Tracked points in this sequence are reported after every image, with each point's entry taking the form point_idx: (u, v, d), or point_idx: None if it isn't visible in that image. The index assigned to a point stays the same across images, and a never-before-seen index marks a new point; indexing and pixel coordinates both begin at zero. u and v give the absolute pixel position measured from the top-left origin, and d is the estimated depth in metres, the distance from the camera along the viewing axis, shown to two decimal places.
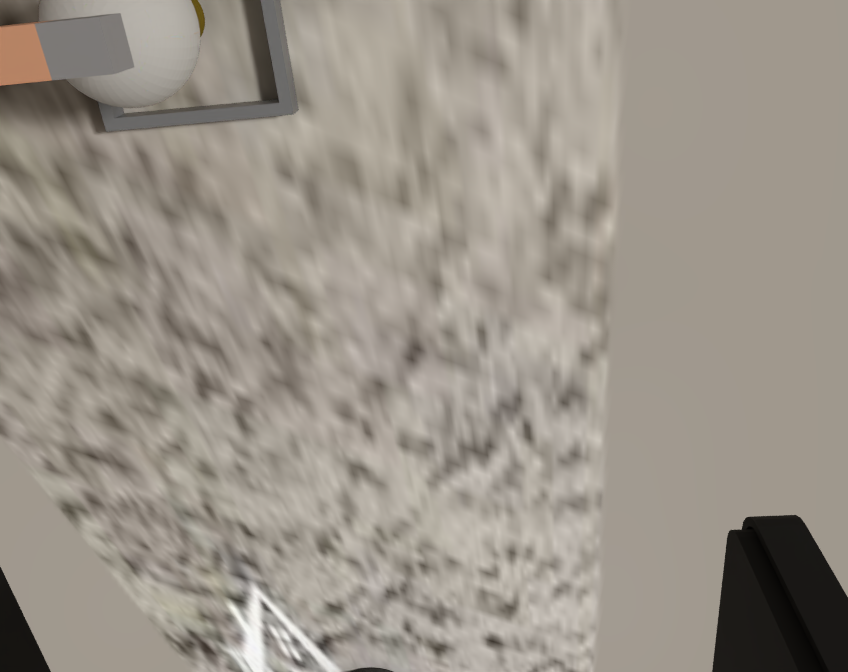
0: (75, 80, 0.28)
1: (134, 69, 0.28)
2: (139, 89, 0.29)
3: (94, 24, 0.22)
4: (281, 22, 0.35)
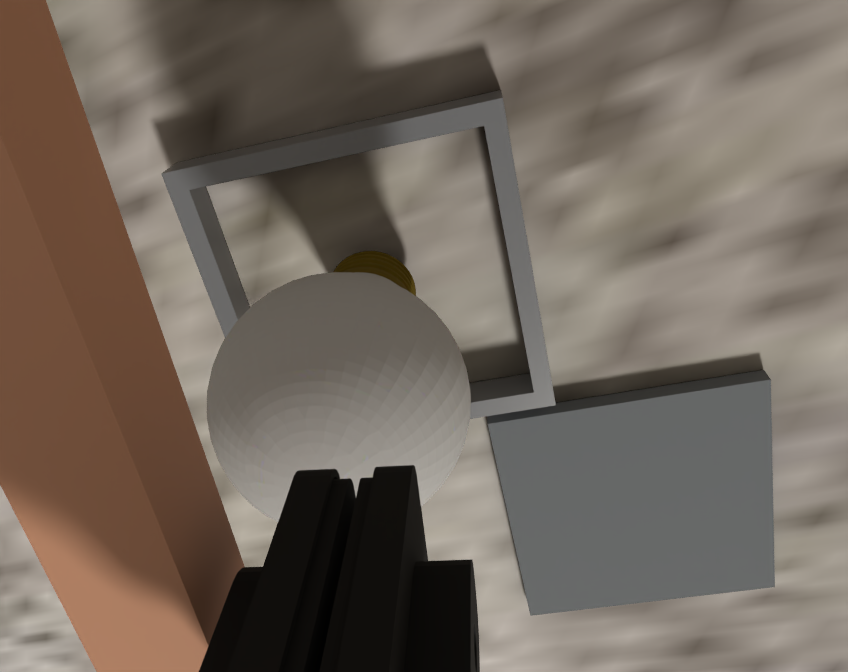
0: (235, 418, 0.15)
1: None
2: (248, 501, 0.16)
3: None
4: None
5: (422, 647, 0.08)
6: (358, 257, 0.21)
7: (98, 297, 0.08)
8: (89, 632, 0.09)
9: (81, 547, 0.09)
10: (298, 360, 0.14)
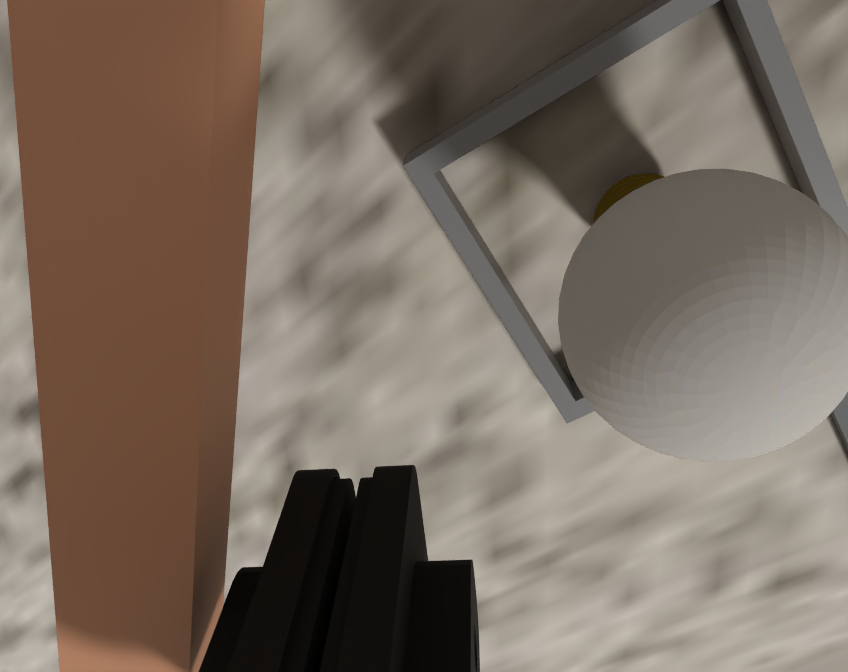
0: (632, 349, 0.13)
1: (700, 451, 0.14)
2: (651, 443, 0.14)
3: None
4: None
5: (422, 647, 0.08)
6: (622, 185, 0.20)
7: (222, 252, 0.07)
8: (67, 582, 0.09)
9: (100, 497, 0.08)
10: (689, 263, 0.13)
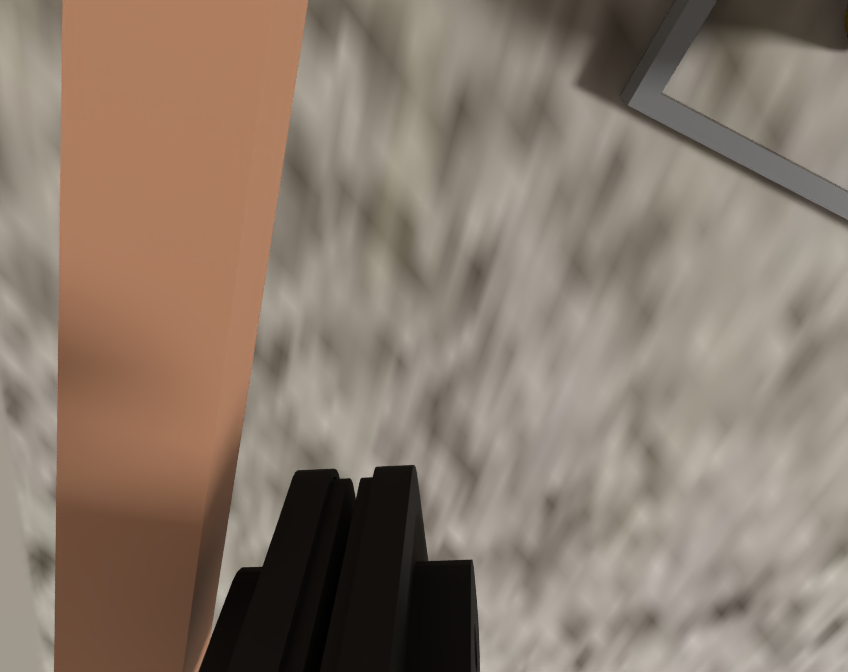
0: None
1: None
2: None
3: None
4: None
5: (422, 647, 0.08)
6: None
7: (251, 246, 0.07)
8: (69, 563, 0.09)
9: (111, 480, 0.08)
10: None
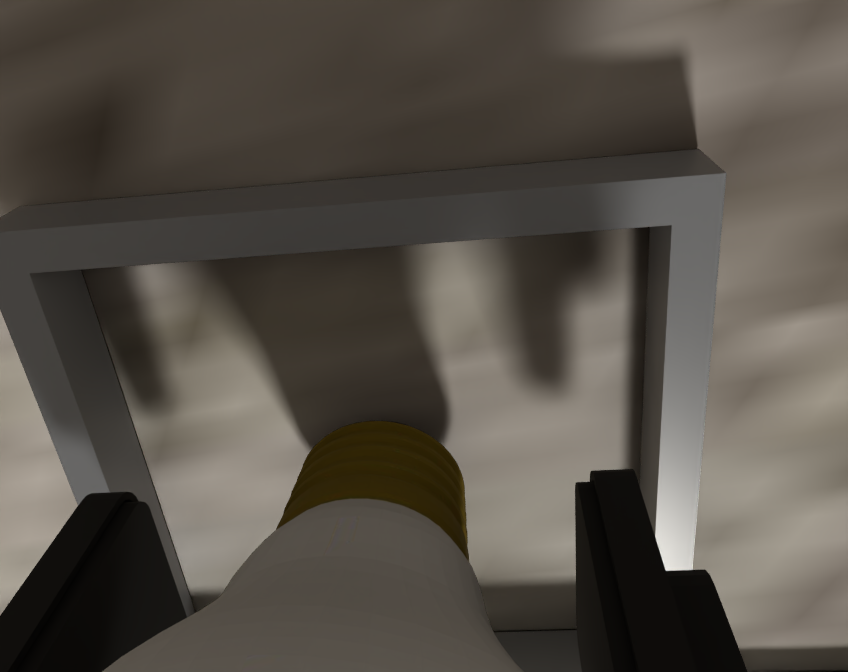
0: None
1: None
2: None
3: None
4: None
5: None
6: (365, 437, 0.11)
7: None
8: None
9: None
10: None
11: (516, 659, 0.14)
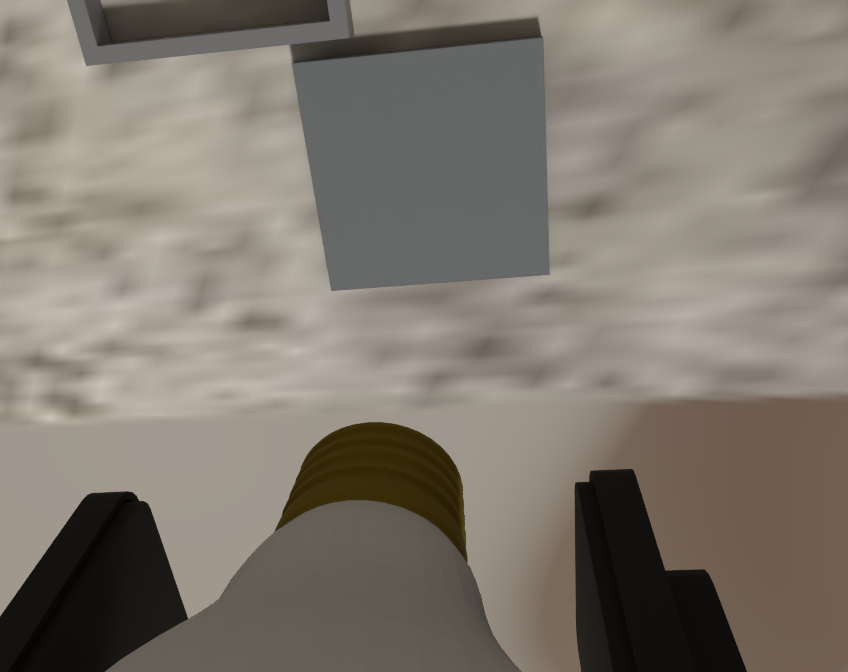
0: None
1: None
2: None
3: None
4: None
5: None
6: (364, 439, 0.11)
7: None
8: None
9: None
10: None
11: (270, 26, 0.26)
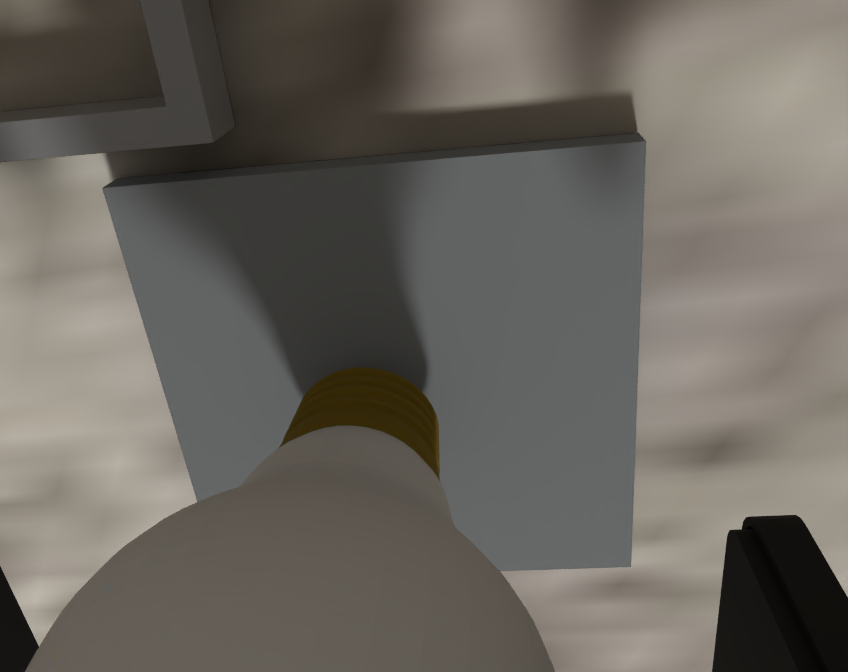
0: None
1: None
2: None
3: None
4: None
5: None
6: (352, 380, 0.13)
7: None
8: None
9: None
10: None
11: (46, 113, 0.12)
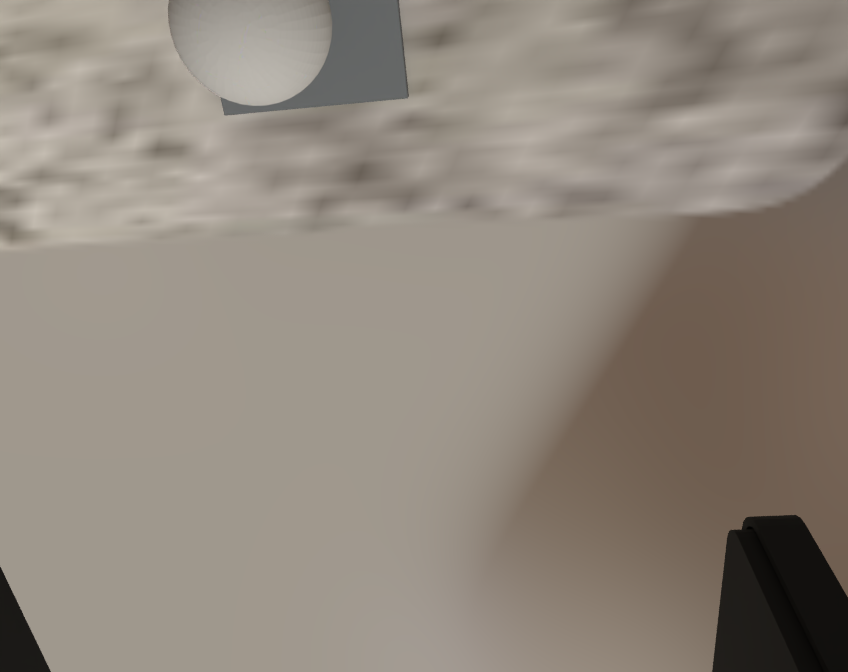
0: None
1: (207, 68, 0.26)
2: (188, 61, 0.26)
3: None
4: None
5: None
6: None
7: None
8: None
9: None
10: None
11: None
